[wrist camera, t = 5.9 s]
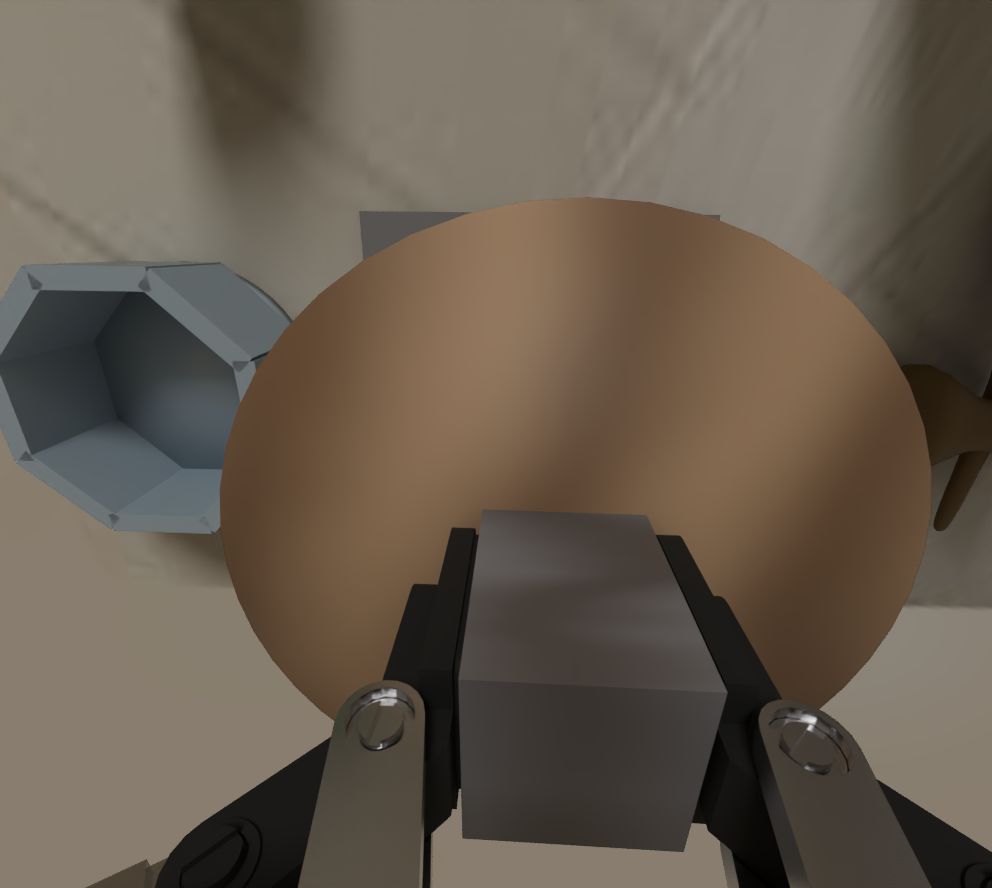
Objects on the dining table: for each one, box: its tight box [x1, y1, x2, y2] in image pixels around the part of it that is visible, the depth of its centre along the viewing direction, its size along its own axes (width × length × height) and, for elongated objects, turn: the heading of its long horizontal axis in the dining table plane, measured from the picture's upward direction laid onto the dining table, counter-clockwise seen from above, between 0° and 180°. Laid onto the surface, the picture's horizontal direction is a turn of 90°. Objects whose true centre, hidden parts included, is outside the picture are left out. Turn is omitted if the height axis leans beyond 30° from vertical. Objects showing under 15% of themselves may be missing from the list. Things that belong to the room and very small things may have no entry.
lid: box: [220, 197, 931, 852], centre depth 10 cm, size 16×16×6 cm
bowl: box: [0, 261, 293, 534], centre depth 26 cm, size 13×13×6 cm
